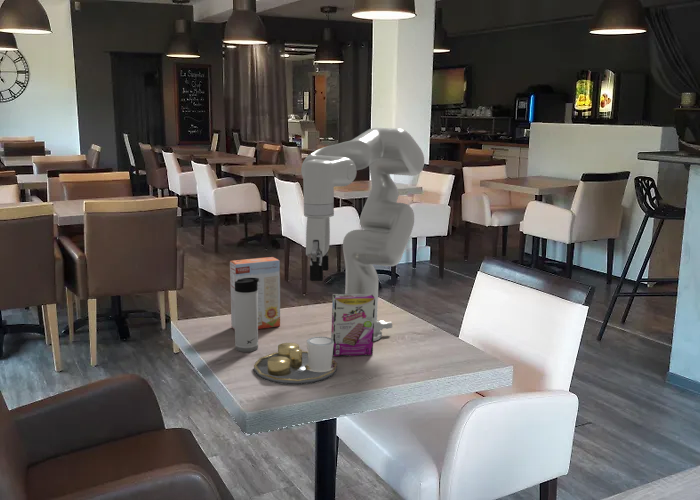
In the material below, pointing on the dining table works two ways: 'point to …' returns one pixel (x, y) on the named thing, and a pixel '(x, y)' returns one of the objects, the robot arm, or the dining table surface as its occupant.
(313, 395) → the dining table surface
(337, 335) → the candy bar box
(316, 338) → the shot glass
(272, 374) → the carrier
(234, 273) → the cracker box
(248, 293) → the travel mug
